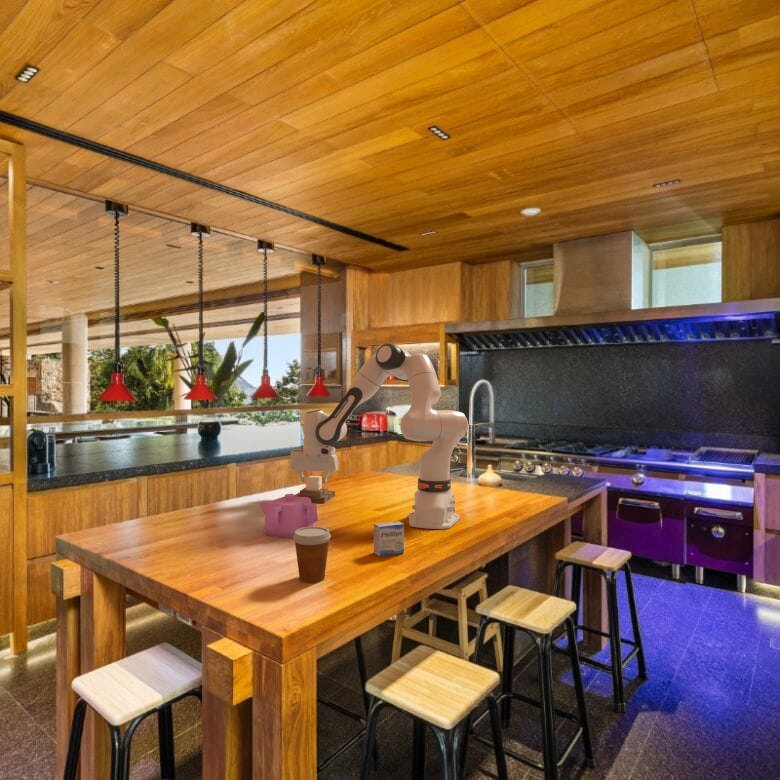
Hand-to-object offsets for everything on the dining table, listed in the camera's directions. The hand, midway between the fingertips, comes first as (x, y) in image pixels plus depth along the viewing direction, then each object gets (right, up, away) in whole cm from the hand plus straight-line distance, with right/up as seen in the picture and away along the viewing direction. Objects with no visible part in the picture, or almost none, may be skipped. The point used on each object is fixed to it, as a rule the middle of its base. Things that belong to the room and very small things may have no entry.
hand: (313, 481), depth 223 cm
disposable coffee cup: (+12, -10, -88) cm, 89 cm away
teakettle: (-2, -9, -46) cm, 47 cm away
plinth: (0, -7, 0) cm, 7 cm away
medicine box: (+32, -9, -69) cm, 76 cm away
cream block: (0, -3, 0) cm, 3 cm away
